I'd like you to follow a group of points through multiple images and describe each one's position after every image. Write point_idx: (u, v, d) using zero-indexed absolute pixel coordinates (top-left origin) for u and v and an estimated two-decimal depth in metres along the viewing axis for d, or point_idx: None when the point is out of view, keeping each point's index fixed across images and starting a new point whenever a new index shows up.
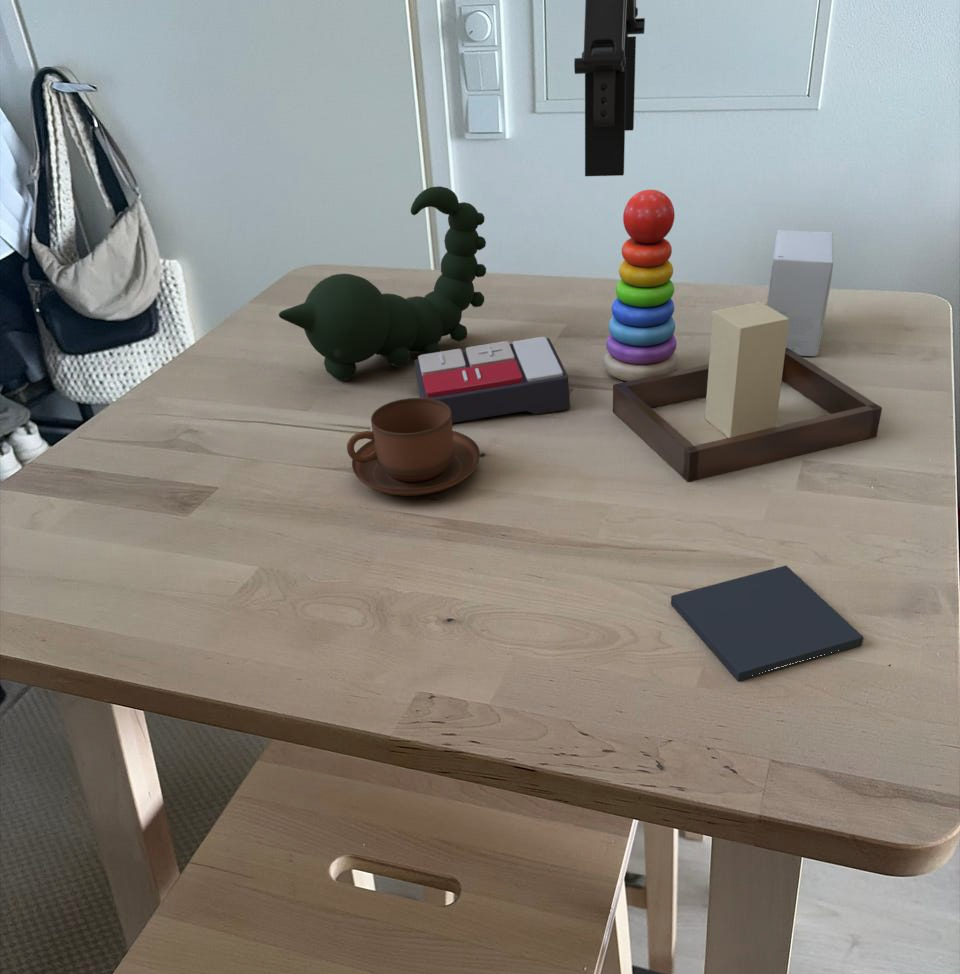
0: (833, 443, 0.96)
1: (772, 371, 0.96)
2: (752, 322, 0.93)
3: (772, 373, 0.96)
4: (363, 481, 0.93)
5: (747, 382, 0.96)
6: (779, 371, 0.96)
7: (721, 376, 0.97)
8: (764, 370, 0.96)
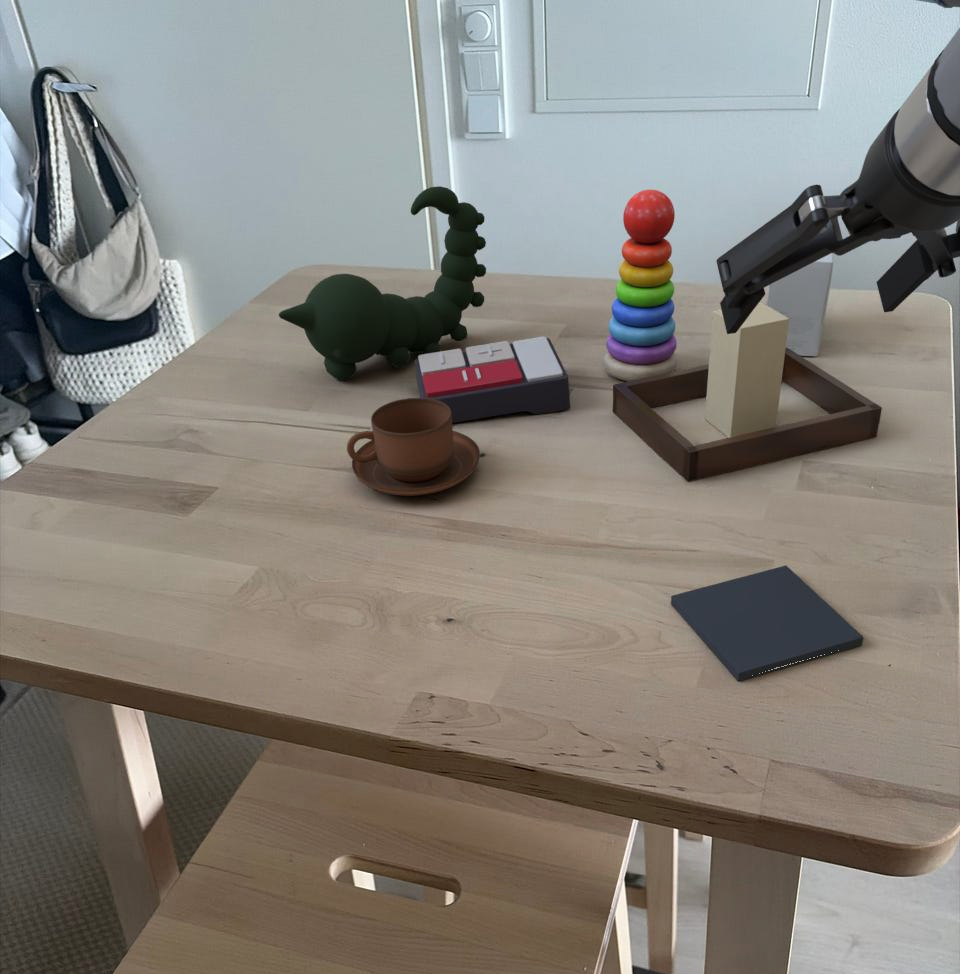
0: (833, 443, 0.96)
1: (772, 371, 0.96)
2: (752, 322, 0.93)
3: (772, 373, 0.96)
4: (363, 481, 0.93)
5: (747, 382, 0.96)
6: (779, 371, 0.96)
7: (721, 376, 0.97)
8: (764, 370, 0.96)
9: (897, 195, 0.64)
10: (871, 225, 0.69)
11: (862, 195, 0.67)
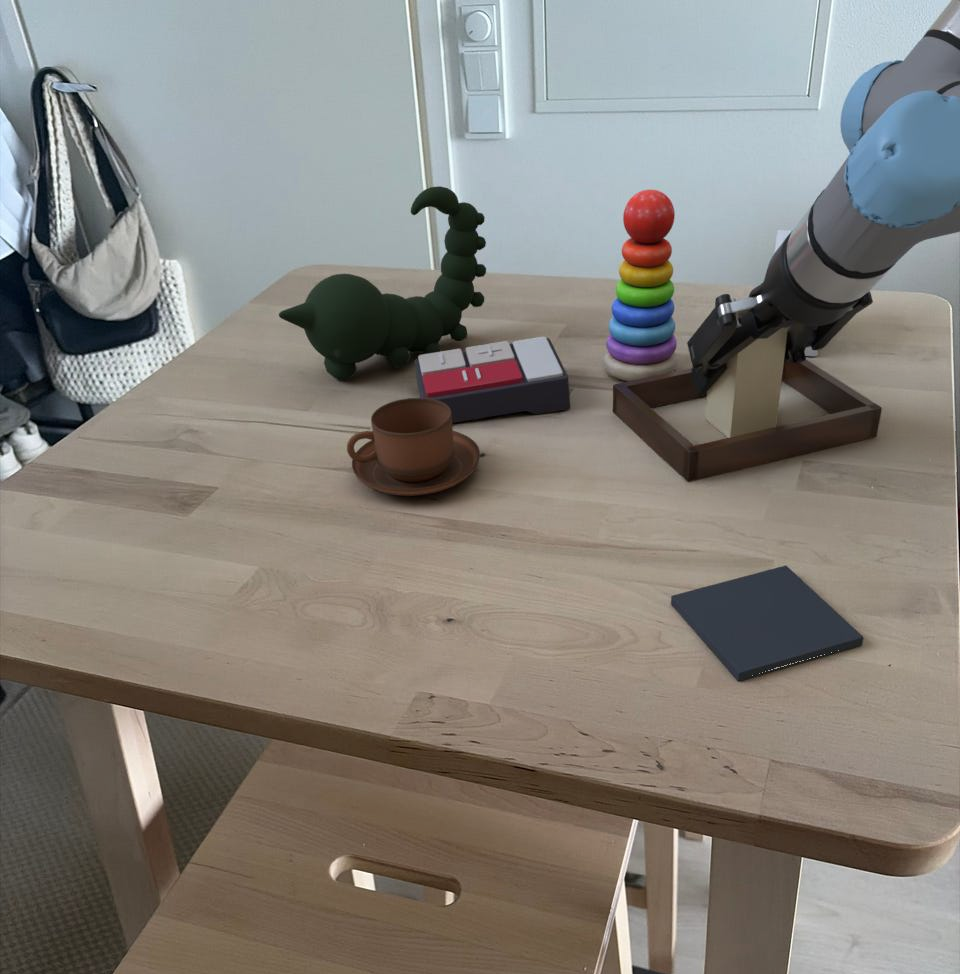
0: (833, 443, 0.96)
1: (772, 371, 0.96)
2: None
3: (772, 373, 0.96)
4: (363, 481, 0.93)
5: (746, 382, 0.96)
6: (779, 371, 0.96)
7: (721, 376, 0.97)
8: (764, 370, 0.96)
9: (791, 300, 0.80)
10: (775, 318, 0.86)
11: (766, 296, 0.83)
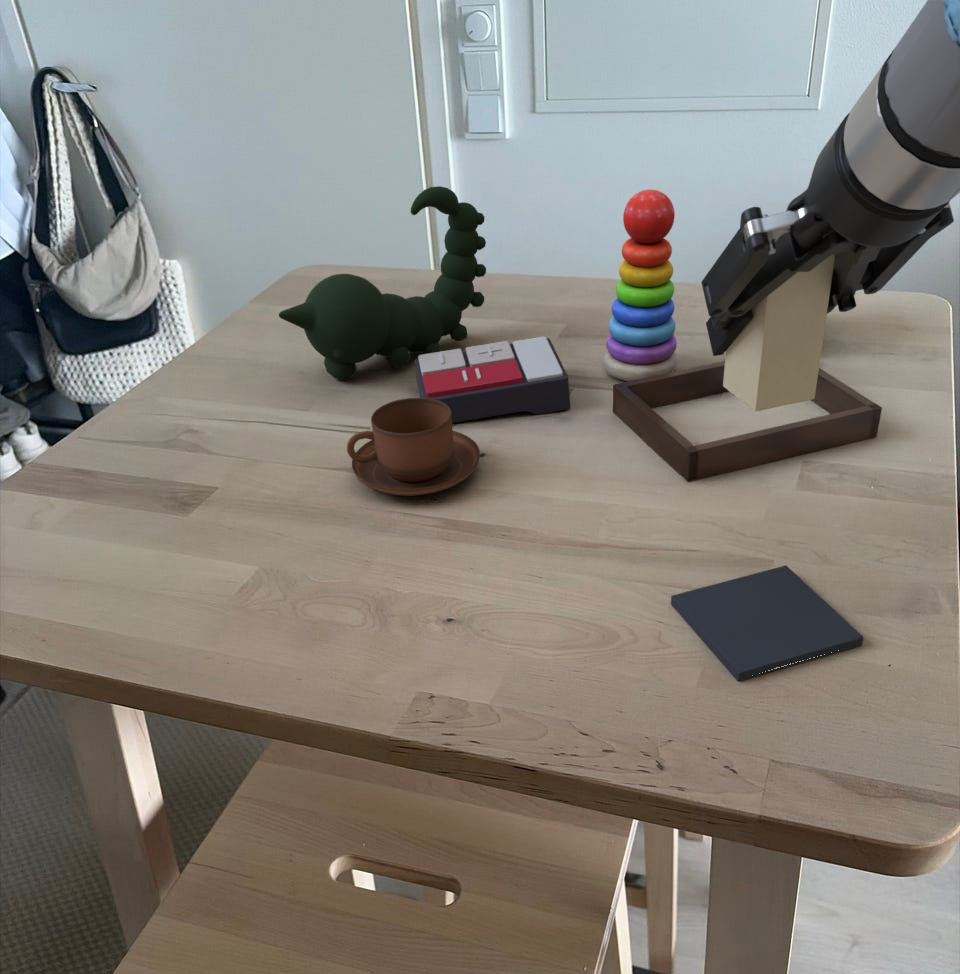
0: (833, 443, 0.96)
1: (812, 321, 0.73)
2: None
3: (811, 324, 0.74)
4: (363, 481, 0.93)
5: (778, 336, 0.73)
6: (821, 322, 0.74)
7: (744, 329, 0.75)
8: (801, 320, 0.73)
9: (848, 208, 0.58)
10: (822, 241, 0.63)
11: (811, 206, 0.60)
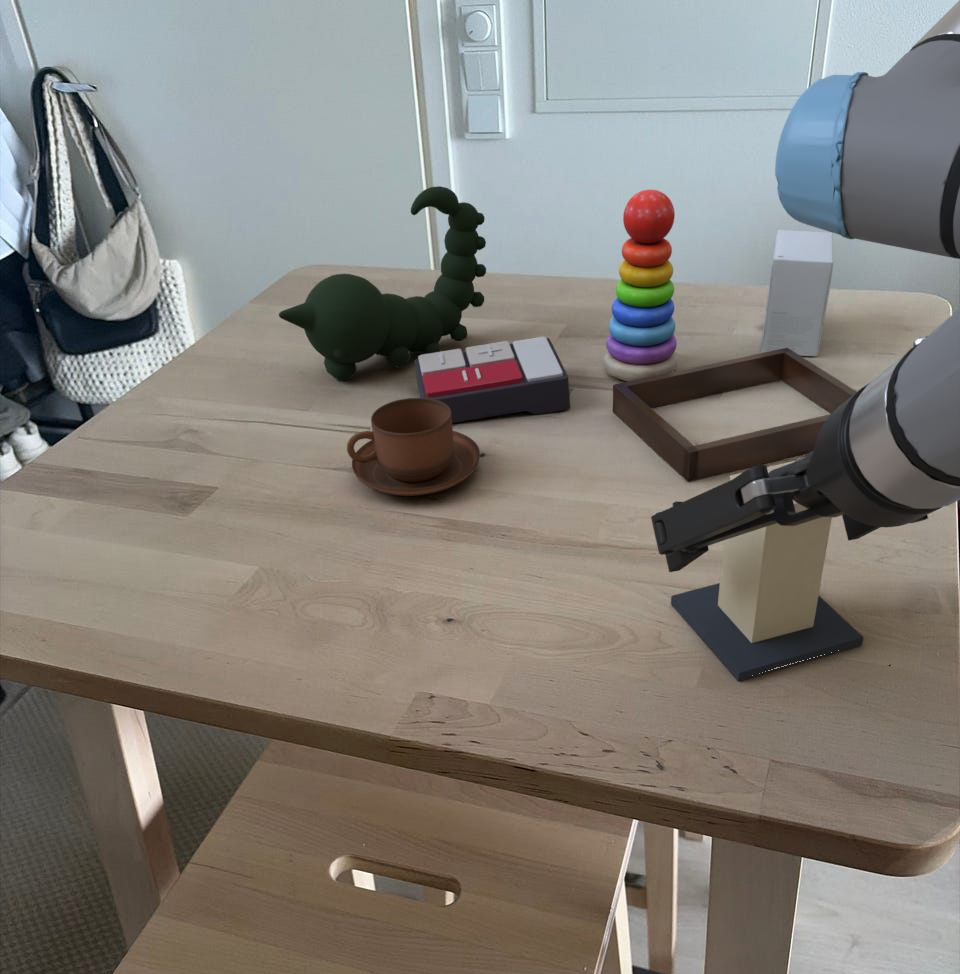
0: None
1: (810, 559, 0.70)
2: None
3: (810, 561, 0.70)
4: (363, 481, 0.93)
5: (775, 574, 0.70)
6: (820, 558, 0.70)
7: (740, 561, 0.72)
8: (800, 558, 0.70)
9: (854, 496, 0.54)
10: (826, 504, 0.59)
11: (814, 481, 0.56)
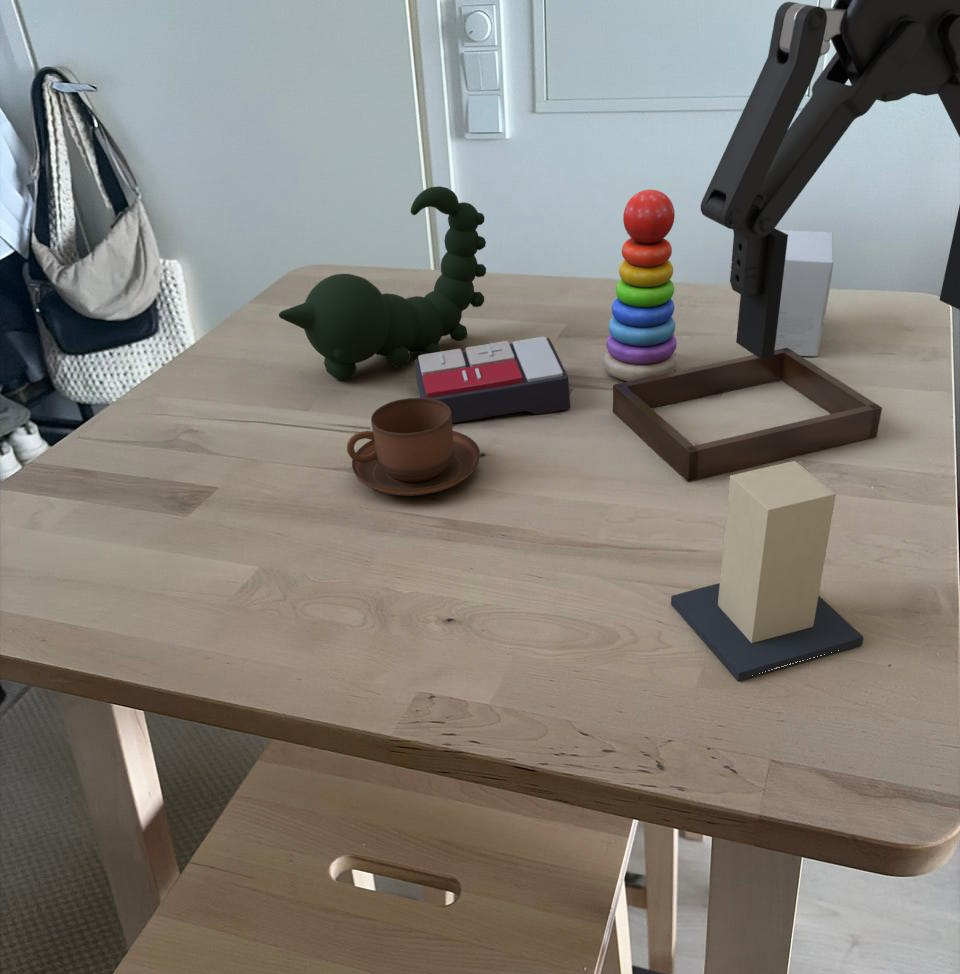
0: (833, 443, 0.96)
1: (810, 559, 0.70)
2: (784, 498, 0.67)
3: (810, 561, 0.70)
4: (363, 481, 0.93)
5: (775, 574, 0.70)
6: (820, 558, 0.70)
7: (740, 561, 0.72)
8: (800, 558, 0.70)
9: None
10: (889, 38, 0.48)
11: None
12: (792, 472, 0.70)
